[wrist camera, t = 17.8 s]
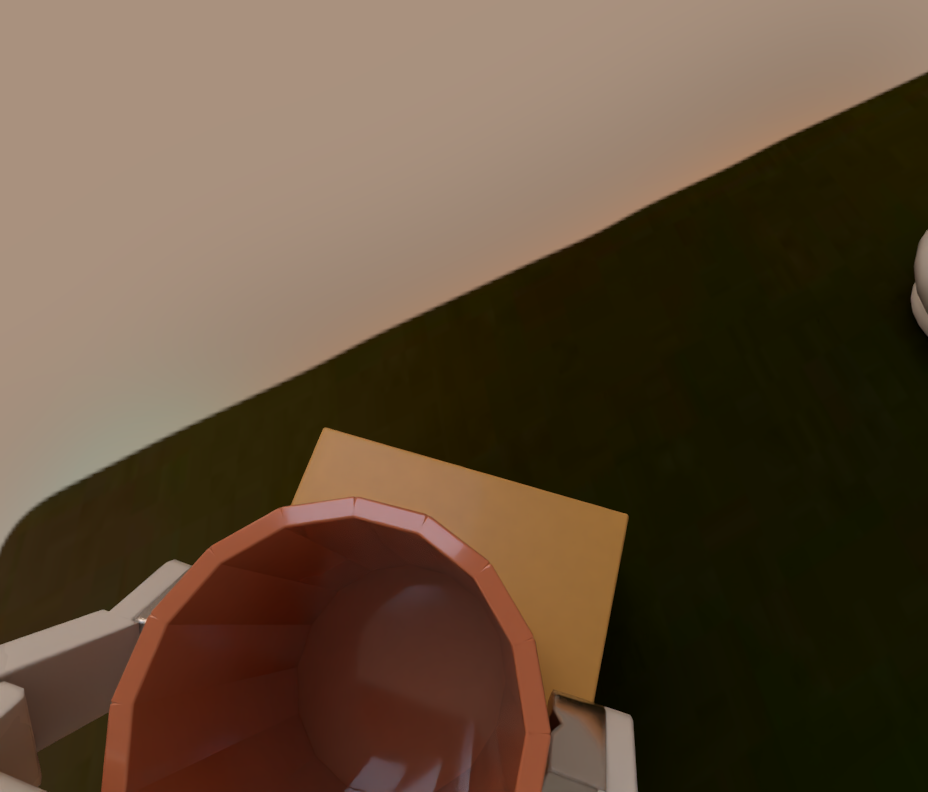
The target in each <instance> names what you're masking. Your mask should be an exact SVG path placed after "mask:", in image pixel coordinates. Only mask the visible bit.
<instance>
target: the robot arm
mask: <svg viewBox="0 0 928 792" xmlns="http://www.w3.org/2000/svg"><path fill="white" fill-rule="evenodd" d="M191 567H192V566H191V565H188V564H186V563H183V562H180V561H177V560H175V559H174V560H172V561H169V562H167V563H165V564H164V565H163V566H161V567H160V568H159V569H158V570H157V571H156V572H154V573H153V574H152V575H151V576H150V577H149V578H148V579H146V580H145V581H144V582H143V583H142V584H141V585H139V586H138V587H137V588H136V589H135V590H134V591H132V592H131V593H130V594H129V595H128V596H127V597H126V598H124V599H123V600H122V601H121V602H120V603H119V604H117V605H116V606H115V607H114V608H113V609H112V610H110V611H106V610H100V611H97V612H94V613H91V614H89V615H86V616H83V617H80V618H77V619H74V620H71V621H68V622H65V623H62V624H60V625H57V626H54V627H51V628H48V629H45V630H42V631H39V632H36V633H34V634H31V635H28V636H25V637H22V638H19V639H16V640H13V641H10V642H8V643H5V644H2V645H0V792H47V791H45V790H42V789H40V788H38V787H39V786H40V785H41V779H42V774H41V769H40V764H39V759H38V754H37V752H38V751H40V750H42V749H44V748H45V747H47V746H49V745H51V744H53V743H54V742H56V741H58V740H60V739H61V738H63V737H65V736H67V735H69V734H70V733H72V732H74V731H76V730H77V729H79V728H81V727H83V726H85V725H86V724H88V723H90V722H92V721H94V720H95V719H97V718H99V717H101V716H102V715H104V714H106V713H108V712H109V707H110V704H111V703H112V702H111V699H112V697H113V695H114V693H115V690H116V688H117V686H118V684H119V681H120V679H121V677H122V675H123V672H124V670H125V668H126V666H127V663H128V661H129V659H130V657H131V654H132V652H133V650H134V648H135V645H136V643H137V641H138V639H139V636H140V634H141V632H142V629H143V627H144V625H145V623H146V620H147V618H148V616H149V615H151V612H152V610H153V609H154V608H155V607H156V606H157V605H158V604H159V603H160V601H161V600H162V599H163V598H164V597H165V596H166V595H167V594H168V593H169V591H170V590H171V589H172V588H173V587H174V586H175V585H176V584H177V582H178V581H179V580H180V579H181V578H182V577H183V576H184V575H185V574H186V572H187V571H188V570H189V569H190V568H191ZM547 710H548V716H549V722H550V727H551V733H550V735H551V742H550V748H549V754H548V759H547V765H546V771H545V777H544V783H543V789H542V792H638V789H637V773H636V757H635V741H634V726H633V719H632V717H631V715H629V714H626V713H623V712H620V711H617V710H614V709H611V708H608V707H603V705H600V704H597V703H594V702H591V701H588V700H585V699H582V698H579V697H576V696H573V695H570V694H567V693H564V692H560V691H557V690H554V689H553V691H552V692H551V695H550V697H549V700H548V704H547Z"/></svg>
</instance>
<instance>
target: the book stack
mask: <svg viewBox="0 0 928 792" xmlns="http://www.w3.org/2000/svg"><path fill="white" fill-rule="evenodd" d="M352 496H354V497H362V498H366V499H370V500H374V501H378V502H382V503H386V504H390V505H393V506H397V507H401V508H405V509H409V510H413V511H417V512H421V513H425V514H427V515H428V516H431V517H432V518H434V519H435V520H436V521H438V522H439V523H440V524H441V525H443V526H444V527H445V528H447V529H448V530H449V531H451V532H452V533H453V534H454V535H456V536H457V537H458V538H460V539H461V540H462V541H464V542H465V543H466V544H468V545H469V546H470V547H471V548H473V549H474V550H475V551H477V552H478V553H479V554H481V555H482V556H483V557H484V558H486V559H487V560H488V561H489V562H490V564H492V565H493V567H494V569H495V570H496V572H497V574H498V576H499V577H500V579H501V581H502V582H503V584H504V586H505V587H506V589H507V591H508V593H509V594H510V596H511V598H512V599H513V601H514V603H515V605H516V606H517V608H518V610H519V611H520V613H521V615H522V616H523V618H524V620H525V622H526V623H527V625H528V627H529V628H530V630H531V632H532V634H533V638H534V639H535V641H536V647H537V653H538V659H539V664H540V670H541V676H542V681H543V687H544V693H545V699H546V704H548V700H549V697H550V695H551V692H552V691H553V689H554V690H557V691H560V692H564V693H567V694H570V695H573V696H576V697H579V698H582V699H585V700H588V701H591V702H594V698H595V693H596V688H597V683H598V677H599V672H600V667H601V661H602V656H603V651H604V645H605V640H606V635H607V630H608V624H609V619H610V614H611V608H612V603H613V598H614V592H615V587H616V582H617V576H618V571H619V566H620V561H621V555H622V550H623V545H624V539H625V534H626V529H627V523H628V518H629V517H628V515H627V514H624V513H621V512H618V511H614V510H611V509H607V508H604V507H600V506H597V505H593V504H590V503H586V502H583V501H579V500H576V499H572V498H569V497H565V496H562V495H558V494H555V493H552V492H548V491H545V490H541V489H538V488H534V487H531V486H527V485H524V484H520V483H517V482H513V481H510V480H506V479H503V478H499V477H496V476H492V475H489V474H485V473H482V472H479V471H475V470H472V469H468V468H465V467H461V466H458V465H454V464H451V463H447V462H444V461H440V460H437V459H433V458H430V457H426V456H423V455H419V454H416V453H413V452H409V451H406V450H402V449H399V448H395V447H392V446H388V445H385V444H381V443H378V442H374V441H371V440H367V439H364V438H360V437H357V436H353V435H350V434H347V433H343V432H340V431H336V430H333V429H329V428H324V429H323V431H322V433H321V435H320V438H319V440H318V442H317V445H316V447H315V449H314V452H313V454H312V456H311V459H310V461H309V464H308V466H307V468H306V471H305V473H304V475H303V478H302V480H301V482H300V485H299V487H298V490H297V492H296V494H295V497H294V499H293V501H292V504H291V505H298V504H304V503H311V502H318V501H325V500H332V499H339V498H345V497H352Z"/></svg>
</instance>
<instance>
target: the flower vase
mask: <svg viewBox="0 0 928 792" xmlns="http://www.w3.org/2000/svg"><path fill="white" fill-rule="evenodd" d="M914 278H915V284H914V285H913V288H912V293H911V299H910V300H911V306H912V312H913V314H914V316H915V318H916V320H917V323H918V325H919V326H920V327H921V329H922V330H923V331H924V332H925V334H926V335H927V336H928V229H927V231H926V232H925V234H924V235H923V237H922V238H921V240H920V242H919V244H918V247H917V252H916V258H915V263H914Z"/></svg>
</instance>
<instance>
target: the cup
mask: <svg viewBox="0 0 928 792" xmlns="http://www.w3.org/2000/svg"><path fill="white" fill-rule="evenodd" d="M111 702H112V703H111V704H110V707H109V717H108V727H107V737H106V747H105V757H104V767H103V777H102V787H101V792H542V789H543V783H544V777H545V771H546V765H547V759H548V754H549V748H550V742H551V735H550V733H551V727H550V722H549V716H548V710H547V704H546V699H545V693H544V687H543V681H542V676H541V670H540V664H539V659H538V653H537V647H536V641H535V639H534V638H533V634H532V632H531V630H530V628H529V627H528V625H527V623H526V622H525V620H524V618H523V616H522V615H521V613H520V611H519V610H518V608H517V606H516V605H515V603H514V601H513V599H512V598H511V596H510V594H509V593H508V591H507V589H506V587H505V586H504V584H503V582H502V581H501V579H500V577H499V576H498V574H497V572H496V570H495V569H494V567H493V565H492V564H490V562H489V561H488V560H487V559H486V558H484V557H483V556H482V555H481V554H479V553H478V552H477V551H475V550H474V549H473V548H471V547H470V546H469V545H468V544H466V543H465V542H464V541H462V540H461V539H460V538H458V537H457V536H456V535H454V534H453V533H452V532H451V531H449V530H448V529H447V528H445V527H444V526H443V525H441V524H440V523H439V522H438V521H436V520H435V519H434V518H432V517H431V516H428V515H427V514H425V513H421V512H417V511H413V510H409V509H405V508H401V507H397V506H393V505H390V504H386V503H382V502H378V501H374V500H370V499H366V498H362V497H354V496H352V497H345V498H339V499H332V500H325V501H318V502H311V503H304V504H298V505H291V506H284V507H282V508H278V509H276V510H274V511H273V512H271V513H269V514H267V515H265V516H264V517H262V518H260V519H258V520H257V521H255V522H253V523H251V524H249V525H248V526H246V527H244V528H242V529H240V530H239V531H237V532H235V533H233V534H231V535H230V536H228V537H226V538H224V539H223V540H221V541H219V542H217V543H215V544H214V545H212V546H211V547H210V548H208V549H207V550H206V551H205V552H204V553H203V555H202V556H201V557H200V558H199V559H198V560H197V561H196V562H195V563H194V565H193V566H192V567H191V568H190V569H189V570H188V571H187V572H186V574H185V575H184V576H183V577H182V578H181V579H180V580H179V581H178V582H177V584H176V585H175V586H174V587H173V588H172V589H171V590H170V591H169V593H168V594H167V595H166V596H165V597H164V598H163V599H162V600H161V601H160V603H159V604H158V605H157V606H156V607H155V608H154V609H153V610H152V612H151V615H149V616H148V618H147V620H146V623H145V625H144V627H143V629H142V632H141V634H140V636H139V639H138V641H137V643H136V645H135V648H134V650H133V652H132V654H131V657H130V659H129V661H128V663H127V666H126V668H125V670H124V672H123V675H122V677H121V679H120V681H119V684H118V686H117V688H116V690H115V693H114V695H113V697H112V699H111Z"/></svg>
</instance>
